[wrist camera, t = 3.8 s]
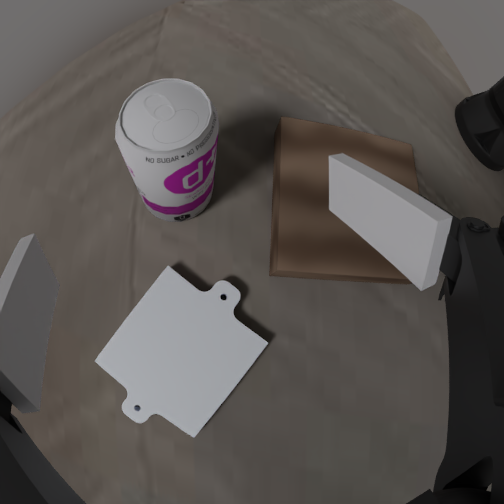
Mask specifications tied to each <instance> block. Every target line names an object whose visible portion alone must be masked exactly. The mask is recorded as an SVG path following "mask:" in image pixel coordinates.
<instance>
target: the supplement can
mask: <svg viewBox="0 0 504 504" xmlns="http://www.w3.org/2000/svg"><path fill="white" fill-rule="evenodd" d="M218 131H219V120H218V114H217V109H216V108H215V106H214V105H213V104H212V102H211V101H210V99H209V98H208V97H207V95H206V94H205V92H204V91H203V90H202V89H201V88H199V87H198V86H196V85H195V84H193V83H192V82H189V81H185V80H181V79H160V80H156V81H152V82H149V83H147V84H145V85H143V86H141V87H140V88H138V89H136V90H135V91H134V92H133V93H132V94H131V95H130V96H129V97H128V98H127V99H126V100H125V102H124V104H123V106H122V108H121V110H120V113H119V118H118V120H117V123H116V133H115V139H116V142H117V144H118V146H119V149H120V151H121V153H122V156H123V158H124V160H125V162H126V165H127V167H128V169H129V171H130V173H131V176H132V178H133V180H134V182H135V184H136V187H137V189H138V191H139V193H140V195H141V197H142V199H143V201H144V203H145V206H146V208H147V209H148V210H149V211H150V212H151V213H152V214H153V215H155V216H156V217H157V218H160V219H163V220H165V221H168V222H182V221H185V220H188V219H191V218H194V217H195V216H196V215H198V214H199V213H200V212H202V211H203V210H204V209H205V207H206V206H207V204H208V203H209V201H210V200H211V196H212V192H213V186H214V174H215V163H216V152H217V141H218Z"/></svg>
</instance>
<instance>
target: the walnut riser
mask: <svg viewBox="0 0 504 504" xmlns="http://www.w3.org/2000/svg"><path fill="white" fill-rule="evenodd" d="M341 153H343V154H345V155H347V156H349V157H351V158H353V159H355V160H357V161H359V162H361V163H363V164H365V165H366V166H368V167H370V168H372V169H374V170H376V171H378V172H379V173H381V174H383V175H385V176H387V177H388V178H390V179H392V180H394V181H396V182H397V183H399V184H401V185H402V186H404V187H406V188H408V189H409V190H411V191H413V192H414V193H417V194H419V189H418V182H417V175H416V168H415V162H414V156H413V151H412V145H411V144H407V143H404V142H400V141H396V140H393V139H389V138H385V137H381V136H377V135H373V134H369V133H365V132H360V131H356V130H352V129H347V128H343V127H338V126H333V125H328V124H323V123H318V122H312V121H307V120H301V119H295V118H289V117H282V116H281V119H280V121H279V124H278V126H277V129H276V132H275V137H274V170H273V199H272V225H271V249H270V271H269V276H279V277H293V278H308V279H323V280H339V281H355V282H373V283H391V284H411V283H412V282H411V281H410V280H409V279H408V278H407V277H406V276H405V275H404V274H402V273H401V272H400V271H399V270H398V269H397V268H396V267H395V266H394V265H393V264H392V263H390V262H389V261H388V260H387V259H386V258H385V257H384V256H383V255H382V254H380V253H379V252H378V251H377V250H376V249H375V248H374V247H372V246H371V245H370V244H369V243H368V242H367V241H366V240H364V239H363V238H362V237H361V236H360V235H359V234H357V233H356V232H355V231H354V230H353V229H352V228H350V227H349V226H348V225H347V224H346V223H344V222H343V221H342V220H341V219H340V218H339V217H337V216H336V215H335V214H334V213H332V212H331V211H330V210H329V156H330V155H335V154H341Z"/></svg>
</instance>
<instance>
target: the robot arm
mask: <svg viewBox="0 0 504 504" xmlns="http://www.w3.org/2000/svg"><path fill="white" fill-rule="evenodd" d="M455 118H456V122H457V126H458V129H459V131H460V133H461V135H462V137H463V139H464V141H465V143H466V144H467V146H468V147H469V149H470V150H471V151H472V153H473V154H474V155H475V156H476V157H477V159H478V160H479V161H480V162H482V163H483V164H484V165H485V166H487V167H488V168H490V169H492V170H495V171H501V170H503V169H504V77H503V78H501V79H500V80H499V81H498V82H497V83H496V84H495V85H494V86H493V87H491V88H490V89H489V90H487V91H485V92H482V93H479V94H476V95H473V96H471V97H467V98H465V99H464V100H462V101H461V102H460V103H459V104H458V105H457V107H456V110H455ZM329 210H330V211H331V212H332V213H334V214H335V215H336V216H337V217H339V218H340V219H341V220H342V221H343V222H344V223H346V224H347V225H348V226H349V227H350V228H352V229H353V230H354V231H355V232H356V233H357V234H359V235H360V236H361V237H362V238H363V239H364V240H366V241H367V242H368V243H369V244H370V245H371V246H372V247H374V248H375V249H376V250H377V251H378V252H379V253H380V254H382V255H383V256H384V257H385V258H386V259H387V260H388V261H389V262H390V263H392V264H393V265H394V266H395V267H396V268H397V269H398V270H399V271H400V272H401V273H402V274H404V275H405V276H406V277H407V278H408V279H409V280H410V281H411V282H412V283H413V284H414V285H415V286H416V287H418V288H419V289H420V290H421V291H422V290H424V289H426V288H428V287H430V286H432V285H434V284H436V281H437V277H438V274H439V270H441V271H442V272H443V273H444V274H445V275H446V276H445V279H444V282H443V285H442V289H441V292H440V295H439V299H438V300H441V299H442V296H443V295H444V294H445V302H446V312H447V325H448V341H449V417H448V433H447V445H446V452H445V456H444V459H443V461H442V463H441V465H440V467H439V469H438V472H437V475H436V480H435V484H434V490H433V492H432V491H431V490H430V489H429V490H427V491H426V492H424V493H423V494H421V495H419V496H418V497H416V498H415V499H413V500H411V501H410V502H408V503H406V504H504V216H503V217H502V218H501V222H500V226H499V228H491V227H490V226H489V225H488V224H487V223H486V222H484V221H482V220H480V219H477V218H473V217H466V218H462V219H461V220H459V219H458V218H456V217H455V216H453V215H452V214H450V213H449V212H447V211H446V210H444V209H442V208H441V207H439V206H436V204H434V203H433V202H431V201H429V200H428V199H426V198H425V197H423V196H421V195H420V194H417V193H414V192H413V191H411V190H409V189H408V188H406V187H404V186H402V185H401V184H399V183H397V182H396V181H394V180H392V179H390V178H388V177H387V176H385V175H383V174H381V173H379V172H378V171H376V170H374V169H372V168H370V167H368V166H366V165H365V164H363V163H361V162H359V161H357V160H355V159H353V158H351V157H349V156H347V155H345V154H343V153H341V154H335V155H330V156H329ZM59 286H60V284H59V283H58V281H57V279H56V277H55V275H54V273H53V271H52V269H51V267H50V265H49V263H48V261H47V259H46V257H45V255H44V253H43V250H42V248H41V246H40V244H39V242H38V240H37V237H36V235H35V233H34V234H31V235H29V236H26V237H23V238H21V239H20V241H19V242H18V244H17V246H16V248H15V250H14V252H13V254H12V256H11V258H10V260H9V262H8V264H7V266H6V268H5V270H4V272H3V274H2V276H1V278H0V504H86V503H85V502H84V501H83V500H82V499H81V498H80V497H79V496H78V495H77V494H76V493H75V491H74V490H73V489H72V488H71V487H70V486H69V485H68V484H67V483H66V482H65V480H64V479H63V478H62V477H61V476H60V475H59V474H58V472H57V471H56V470H55V469H54V468H53V466H52V465H51V464H50V463H49V462H48V460H47V459H46V458H45V457H44V455H43V454H42V453H41V451H40V450H39V449H38V448H37V446H36V445H35V444H34V442H33V441H32V440H31V438H30V437H29V435H28V434H27V433H26V431H25V430H24V428H23V427H22V425H21V424H20V422H19V421H18V419H17V418H16V417H15V416H14V415H12V414H11V406H12V404H13V405H14V406H15V407H16V408H17V409H18V410H19V411H21V412H22V413H29V412H36V411H40V403H41V392H42V383H43V374H44V366H45V359H46V352H47V346H48V340H49V334H50V328H51V323H52V318H53V313H54V308H55V304H56V299H57V295H58V290H59ZM491 483H492V488H491V492H489V491H486V490H487V488H488V486H489V485H490V484H491Z"/></svg>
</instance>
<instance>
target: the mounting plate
mask: <svg viewBox="0 0 504 504" xmlns="http://www.w3.org/2000/svg"><path fill="white" fill-rule="evenodd" d="M221 295H225V296H226V300H221V298H220V296H221ZM239 300H240V292H239V290H238V289H237V288H235V287H234V286H233V285H231V284H230V283H229V282H227V281H224V280H221V281H218V282H217V283H216V284H215V285H214V286H213V287H212V289H211V290H209V291H206V292H202V291H200V290H198V289H197V288H195V287H194V286H193V285H192V284H190V283H189V282H188V281H187V280H185V279H184V278H183V277H182V276H180V275H179V274H178V273H177V272H175V271H174V270H173V269H172V268H170V267H169V266H167V267H166V269H165V270H164V271H163V272H162V274H161V275H160V276H159V277H158V279H157V280H156V281H155V282H154V284H153V285H152V286H151V287H150V289H149V290H148V291H147V293H146V294H145V295H144V296H143V298H142V299H141V300H140V301H139V303H138V304H137V305H136V307H135V308H134V309H133V311H132V312H131V313H130V314H129V316H128V317H127V318H126V320H125V321H124V322H123V324H122V325H121V326H120V328H119V329H118V330H117V332H116V333H115V334H114V336H113V337H112V338H111V340H110V341H109V342H108V344H107V345H106V346H105V348H104V349H103V350H102V352H101V353H100V354H99V356H98V357H97V358H96V360H95V362H96V363H97V364H98V365H100V366H101V367H102V368H103V369H104V370H105V371H106V372H108V373H109V374H110V375H111V376H112V377H113V378H115V379H116V380H117V381H118V382H119V383H120V384H122V385H123V386H124V387H125V388H126V390H127V393H128V395H127V398H126V400H125V401H124V402H123V404H122V410H123V412H124V413H125V414H126V415H127V416H128V417H129V418H131V419H132V420H133V421H135V422H137V423H143V422H145V421H146V420H147V419H148V418H149V417H150V416H151V415H153V414H159V415H161V416H163V417H164V418H166V419H167V420H169V421H170V422H171V423H173V424H174V425H176V426H177V427H179V428H180V429H181V430H183V431H184V432H186V433H187V434H189V435H190V436H192V437H193V438H194V437H195V436H196V435H197V433H198V432H199V431H200V430H201V429H202V427H203V426H204V425H205V424H206V422H207V421H208V420H209V419H210V418H211V416H212V415H213V414H214V413H215V411H216V410H217V409H218V408H219V406H220V405H221V404H222V403H223V401H224V400H225V399H226V398H227V396H228V395H229V394H230V393H231V391H232V390H233V389H234V387H235V386H236V385H237V384H238V382H239V381H240V380H241V378H242V377H243V376H244V375H245V373H246V372H247V371H248V369H249V368H250V367H251V365H252V364H253V363H254V361H255V360H256V359H257V357H258V356H259V355H260V353H261V352H262V351H263V349H264V348H265V347H266V345H267V344H268V342H267V341H265V340H264V339H262V338H261V337H260V336H258V335H257V334H256V333H254V332H253V331H252V330H250V329H249V328H248V327H246V326H245V325H244V324H242V323H241V322H240V321H238V320H237V319H236V318H235V316H234V308H235V306H236V305H237V303H238V302H239ZM137 405H139V406H140V408H139V407H138V406H137Z"/></svg>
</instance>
